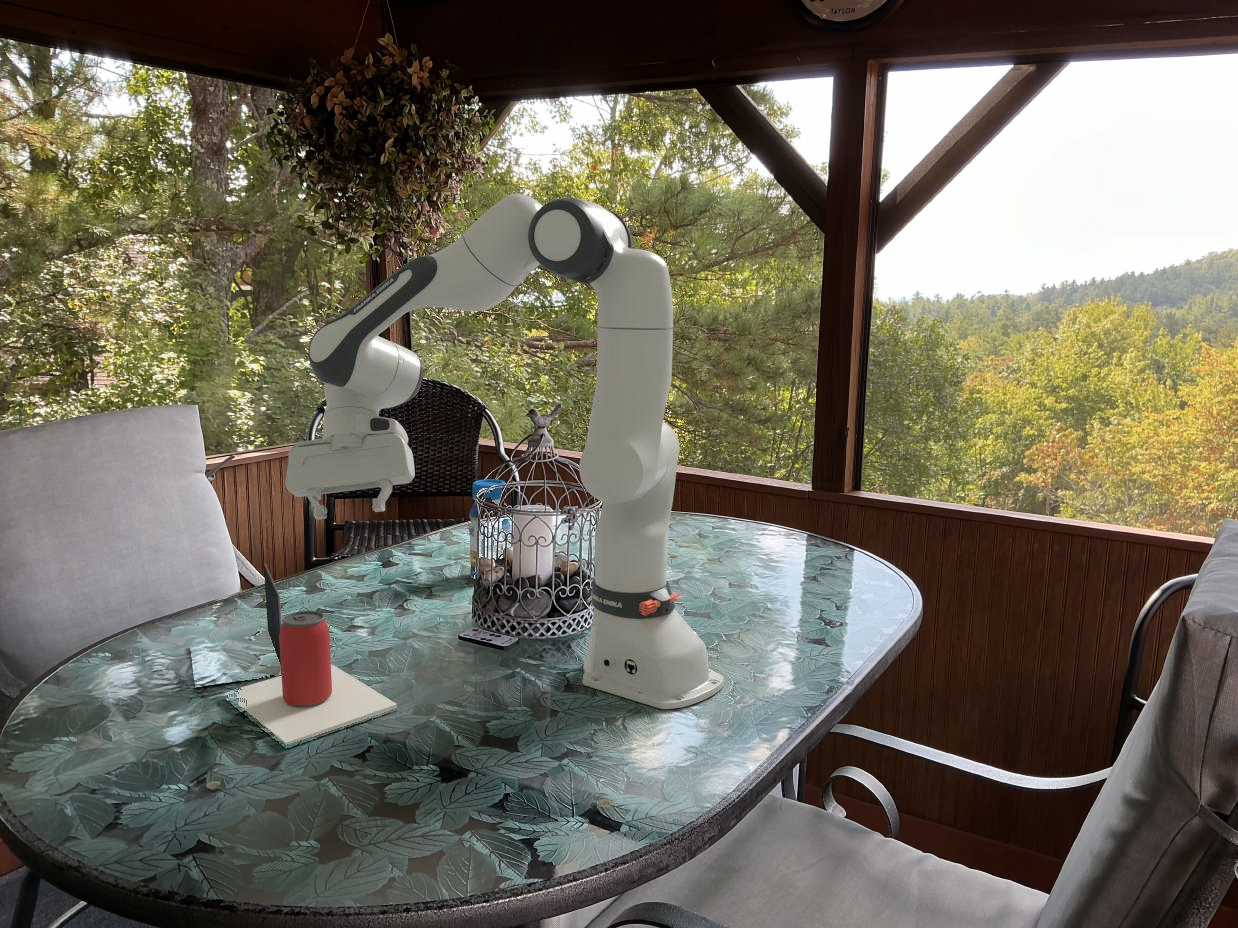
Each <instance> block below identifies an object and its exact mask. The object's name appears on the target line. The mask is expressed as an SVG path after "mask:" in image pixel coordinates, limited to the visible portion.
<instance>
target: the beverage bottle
mask: <svg viewBox="0 0 1238 928" xmlns="http://www.w3.org/2000/svg"><path fill="white" fill-rule="evenodd" d="M504 484H506V482H505V480H500V479H495V478H494V479H493V478H491V479H490V478H489V479H486V478H485V479H479V480H475V481H473V482H472V487H471V488H472V489H471V490H472V499H473V500H474V503H473V504H472V506H471V509H470V510H469V513H468V514H469V515H468V517H469V519H470V523H469V525H468V532H469V547H470V549H469V551H470V552H469V553H470V555H469V556H470V557H469V558H470V572H469V573H470V577H471V579H472V578H474V575H475V567H476V559H477V531H478V513H477V505H476V495H477V493H478V492H479V490H480V489H482V488H489V487H491V486H493V485H504ZM506 485H507V484H506ZM505 492H506V493H507V488H506V489H505ZM501 494H502V489H501V488H495V489H493V490H492V492H491V493H485V495H484V496H483V498H484V499H486V498H489V497H491V499H492V502H494V503H495V504H498V503H499V501H500V498H501ZM506 497H507V494H506V495H505V498H506ZM504 505H506V506H507V507H508V505H507V503H505V501H504ZM511 527H512V526H511V522H510V521H509V519H504V520H503V521H502V529H503V531H505V532H506V533H510V534H511V531H512V528H511ZM494 532H495V527H494ZM492 546H494V540H493V541H492ZM501 550H503V547H502V546H501ZM481 554H482V556H484V555H485V541H484V539H482V541H481Z"/></svg>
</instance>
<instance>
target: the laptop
mask: <svg viewBox="0 0 1238 928" xmlns="http://www.w3.org/2000/svg"><path fill="white" fill-rule="evenodd" d="M263 574H264V590H265V591H264V592H265V605H266V622H267V623H266V624H267V631H268V632H269V635H270V637H271V640H272V643H273V646H274V648H275V651H276V654H277V657H278V659H279V662H280V665H281V659H280V642H279V633H280V629H281V626H282V624H283V623H282V611H281V608H282V607H281V596H280V593H279V591H278V589H277V586H276V584H275V581H274V579H273V577H272V575H271V573H270V570H269V569H268V565H267V564H266V563H264V564H263ZM268 632H267V633H268Z"/></svg>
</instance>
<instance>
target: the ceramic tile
mask: <svg viewBox="0 0 1238 928" xmlns="http://www.w3.org/2000/svg"><path fill="white" fill-rule="evenodd" d="M331 677H332V693H331V696H330V697H329V698H328V699H327V700H325V701H324V702H322V703H319V704H316V705H313V706H306V707H297V706H292V705H289V704H288V703H286V702H285V701H284V699H283V693H282V676H276V677H271V678H267V679H265V680H262V681H258V682H256V683H252V684H248V685H244V686H241V687H240V688H241V689H242V690H240V689H239V690H238V692H239V694H238V692H237V694H236V692H235V694H236V695H237V698H239V702H238V705H239V706H240V707H242V708H245V709H244V710H245V711H247V712H248V713H249V714H250V715H252V716H253V717H254V718H256V719H257V720H258V721H259V722H260V723H261V724H262V725H263V726H265V727H266V728H268V730H270V732H272V733H273V734H274V735H275V736H277V737H278V738H279V739H280V740H281V741H282V742H283V743H285V744H286V745H287V744H291V743H293V742H297V741H300V740H304V739H306V738H309V737H314V736H317V735H319V734H322V733H325V732H328V731H331V730H334V729H337V728H340V727H344V726H347V725H350V724H352V723H355V722H358V721H362V720H364V719H367V718H371V717H373V716H376V715H380V714H382V713H384V712H387V711H390V710H392V709H395V708H397V709H398V703H396V702H394V701H393V700H392V699H389V698H388V697H386V696H385V695H383V694H381V693H380V692H378V691H376V690H375V689H373V688H371V687H370V686H368V685H367V684H365V683H364V682H362V681H361V680H358V679H357V678H355V677H354V676H352V675H350V674H349V673H347V672H346V671H344V670H342V669H341V668H339V667H337V666H336V665H334V664H333V663H331ZM226 695H227V694H226ZM228 697H229V694H228ZM229 698H234V697H231V695H230V697H229ZM235 698H236V697H235ZM240 698H241V702H240ZM242 698H243V702H242ZM244 698H245V703H244ZM246 700H247V706H246Z"/></svg>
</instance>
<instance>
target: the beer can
mask: <svg viewBox="0 0 1238 928" xmlns="http://www.w3.org/2000/svg"><path fill="white" fill-rule="evenodd" d="M281 624H282V626H281V629H280V633H279V642H280V659H281V676H282V693H283V699H284V701H285V702H286V703H288V704H289V705H292V706H297V707H306V706H313V705H316V704H319V703H322V702H324V701H325V700H327V699H328V698H329V697H330V696H331V693H332V677H331V664H332V660H331V639H330V628H329V625H328V622H327V621H326V618H325V614H324V613H322V612H321V611H317V610H302V611H301V610H300V611H296V612H292V613H289V614H287V615H285V616H284V617H283V618H282V619H281Z"/></svg>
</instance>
